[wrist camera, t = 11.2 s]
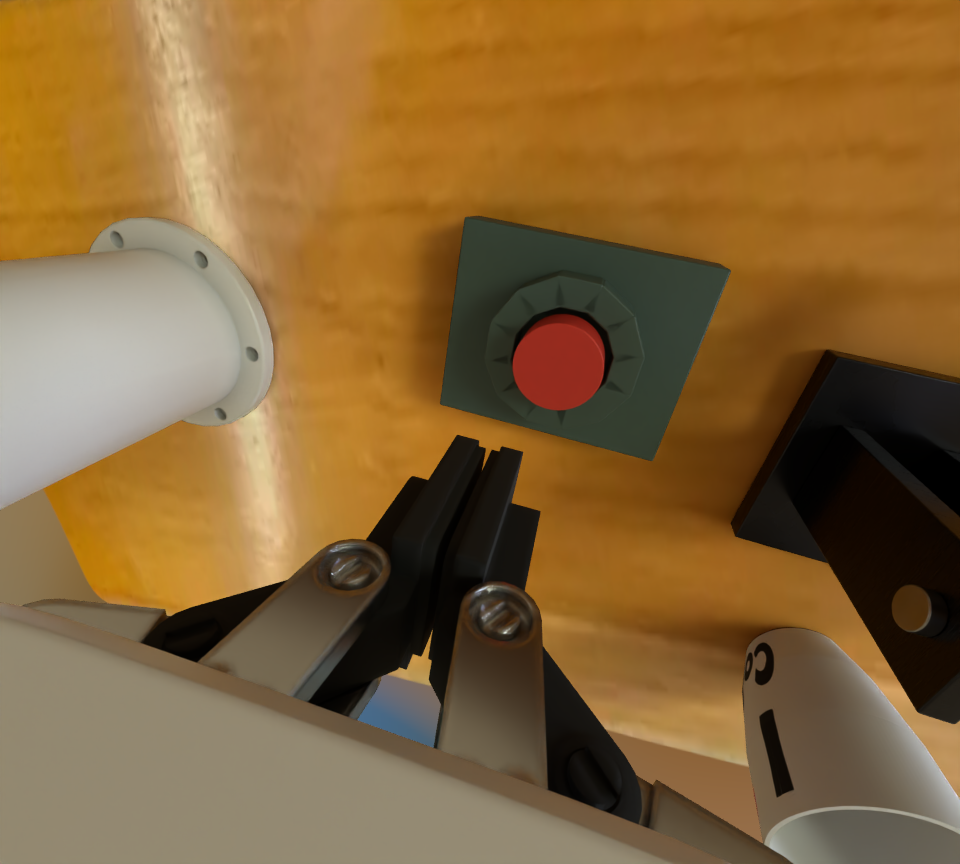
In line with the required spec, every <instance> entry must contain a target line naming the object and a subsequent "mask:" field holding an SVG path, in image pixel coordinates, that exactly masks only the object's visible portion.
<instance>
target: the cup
mask: <svg viewBox="0 0 960 864" xmlns="http://www.w3.org/2000/svg"><path fill="white" fill-rule="evenodd" d="M742 697H743V710H744V724H745V738H746V751H747V759H748V764H749V769H750V775H751V780H752V786H753V791H754V796H755V802H756V807H757V813H758V817H759V824H760V829H761V834H762V840H763V844H764V845H766V846H768V847H769V848H771V849H773V850H774V851H776V852H778V853H779V854H781V855H783V856H784V857H786V858H787V859H788V860H789V861H791V862H792V863H793V864H960V799H959V797H958V796H957V794H956V793H955V791H954V790H953V788H952V787H951V785H950V784H949V782H948V781H947V779H946V778H945V776H944V775H943V773H942V771H941V770H940V768H939V767H938V765H937V764H936V762H935V761H934V759H933V758H932V756H931V755H930V753H929V752H928V750H927V749H926V747H925V746H924V744H923V743H922V742H921V741H920V739H919V738H918V737H917V736H916V734H915V733H914V732H913V731H912V729H911V728H910V727H909V725H908V724H907V723H906V722H905V720H904V719H903V718H902V717H901V715H900V714H899V713H898V712H897V710H896V709H895V708H894V706H893V705H892V704H891V703H890V701H889V700H888V699H887V698H886V696H885V695H884V694H883V693H882V691H881V690H880V689H879V687H878V686H877V685H876V684H875V682H874V681H873V680H872V679H871V678H870V677H869V676H868V675H867V674H866V673H865V672H864V671H863V670H862V669H861V668H860V667H859V666H858V665H857V664H856V663H855V662H854V661H853V660H852V659H851V658H850V657H849V656H848V655H847V654H846V653H845V652H844V651H843V650H842V649H841V648H840V647H839V646H838V645H837V644H836V643H835V642H833V641H832V640H831V639H830V638H828V637H826V636H825V635H823V634H820V633H818V632H815V631H811V630H807V629H801V628H783V629H776V630H772V631H769V632H766V633H764V634H762V635H760V636H758V637H757V638H756V639H754V640H753V641H752V642H751V643H750V645H749V646H748V648H747V651H746V658H745V668H744V678H743V688H742Z"/></svg>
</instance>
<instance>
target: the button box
mask: <svg viewBox="0 0 960 864" xmlns="http://www.w3.org/2000/svg"><path fill="white" fill-rule="evenodd" d="M730 272H731V270H730V269H728V268H726V267H724V266H722V265H721V264H718V263H713V262H708V261H703V260H698V259H693V258H688V257H683V256H678V255H673V254H668V253H663V252H658V251H653V250H648V249H643V248H638V247H633V246H628V245H623V244H618V243H613V242H608V241H603V240H598V239H593V238H588V237H583V236H578V235H572V234H567V233H562V232H557V231H552V230H547V229H542V228H537V227H532V226H527V225H522V224H517V223H512V222H507V221H502V220H497V219H492V218H487V217H482V216H472V217H465V220H464V227H463V235H462V242H461V250H460V257H459V265H458V273H457V280H456V288H455V295H454V303H453V310H452V318H451V325H450V333H449V340H448V348H447V355H446V363H445V370H444V378H443V385H442V393H441V400H440V404H441V405H445V406H448V407H452V408H456V409H459V410H463V411H467V412H471V413H474V414H478V415H482V416H485V417H489V418H493V419H497V420H500V421H504V422H508V423H512V424H515V425H519V426H523V427H526V428H530V429H534V430H538V431H541V432H545V433H549V434H552V435H556V436H560V437H564V438H567V439H571V440H575V441H579V442H582V443H586V444H590V445H593V446H597V447H601V448H605V449H608V450H612V451H616V452H619V453H623V454H627V455H631V456H634V457H638V458H642V459H646V460H649V461H653V459H654V457H655V454H656V452H657V450H658V447H659V445H660V442H661V440H662V437H663V435H664V433H665V430H666V428H667V425H668V423H669V420H670V418H671V416H672V413H673V411H674V408H675V406H676V403H677V401H678V399H679V396H680V394H681V391H682V389H683V386H684V384H685V382H686V379H687V377H688V374H689V372H690V369H691V367H692V365H693V362H694V360H695V357H696V355H697V352H698V350H699V348H700V345H701V343H702V340H703V338H704V335H705V333H706V331H707V328H708V326H709V323H710V321H711V318H712V316H713V314H714V311H715V309H716V306H717V304H718V301H719V299H720V297H721V294H722V292H723V289H724V287H725V284H726V282H727V280H728V277H729V275H730ZM555 314H569V315H574V316H577V317H580V318H582V319H584V320H585V321H587V322H588V323H590V324H591V325H592V326H593V327H594V328H595V329H596V330H597V332H598V333H599V335H600V337H601V339H602V341H603V344H604V349H605V363H604V374H603V379H602V381H601V384H600V386H599V388H598V390H597V391H596V392H595V394H594V395H593V396H592V397H591V398H590V399H589V400H587V401H586V402H585V403H583V404H581V405H579V406H577V407H575V408H571V409H567V410H550V409H546V408H543V407H540V406H538V405H536V404H534V403H533V402H531V401H530V400H529V399H527V398H526V397H525V396H524V395H523V394H522V392H521V391H520V390H519V388H518V386H517V384H516V382H515V379H514V375H513V357H514V353H515V351H516V348H517V346H518V345H519V343H520V341H521V340H522V339H523V337H524V336H525V334H526V333H527V331H528V330H529V329H530V328H531V327H532V326H533V325H534V324H535V323H536V322H538V321H539V320H541V319H543V318H545V317H548V316H551V315H555Z"/></svg>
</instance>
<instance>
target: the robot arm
mask: <svg viewBox="0 0 960 864" xmlns="http://www.w3.org/2000/svg"><path fill="white" fill-rule="evenodd" d="M273 368H274V353H273V343H272V338H271V333H270V328H269V325H268V322H267V319H266V316H265V313H264V311H263V308H262V306H261V304H260V302H259V300H258V298H257V296H256V294H255V292H254V290H253V288H252V286H251V285H250V284H249V282H248V281H247V279H246V278H245V276H244V275H243V274H242V272H241V271H240V269H239V268H238V267H237V266H236V265H235V264H234V262H233V261H232V260H231V259H230V258H229V257H228V256H227V255H226V254H225V253H224V252H223V251H222V250H221V249H220V248H219V247H218V246H216V245H215V244H214V243H213V242H211V241H210V240H209V239H208V238H206V237H205V236H204V235H202V234H200V233H198V232H197V231H195V230H193V229H191V228H190V227H188V226H186V225H183V224H180V223H178V222H175V221H172V220H169V219H163V218H153V217H142V218H127V219H124V220H121V221H118V222H115V223H112V224H111V225H110V226H108V227H107V228H106V229H104V230H103V231H102V232H100V234H99V235H98V237H97V238H96V239H95V241H94V242H93V244H92V245H91V248H90V251H89V253H84V254H73V255H62V256H51V257H40V258H29V259H18V260H6V261H0V510H1V509H3V508H5V507H7V506H9V505H11V504H13V503H15V502H17V501H19V500H21V499H23V498H25V497H27V496H29V495H31V494H33V493H35V492H37V491H39V490H41V489H43V488H45V487H47V486H49V485H51V484H53V483H55V482H57V481H59V480H61V479H63V478H65V477H67V476H69V475H71V474H73V473H75V472H77V471H79V470H81V469H83V468H85V467H87V466H89V465H91V464H94V463H96V462H98V461H100V460H102V459H104V458H106V457H108V456H110V455H112V454H114V453H116V452H118V451H120V450H122V449H124V448H126V447H128V446H130V445H132V444H134V443H136V442H138V441H140V440H142V439H144V438H146V437H148V436H150V435H152V434H154V433H156V432H158V431H160V430H162V429H164V428H166V427H168V426H170V425H172V424H174V423H176V422H178V421H180V420H182V421H185V422H187V423H191V424H196V425H201V426H221V425H225V424H230V423H232V422H234V421H236V420H238V419H240V418H242V417H244V416H246V415H247V414H249V413H250V412H251V411H253V410H254V409H255V408H257V406H258V405H259V404H260V402H261V401H262V400H263V399H264V397H265V395H266V393H267V391H268V388H269V386H270V384H271V379H272V374H273ZM485 451H486V448H483V447H479V440H475V439H471V438H468V437H464V436H460V435H457V436H456V437H455V439H454V440H453V442H452V444H451V445H450V447H449V448H448V450H447V451H446V453H445V455H444V456H443V458H442V459H441V461H440V463H439V464H438V466H437V467H436V469H435V470H434V472H433V474H432V475H431V477H430V478H429V480H426V479H422V478H418V477H415V476H412V477H411V478H410V479H409V480H408V481H407V483H406V484H405V485H404V487H403V488H402V490H401V491H400V492H399V494H398V495H397V497H396V498H395V500H394V501H393V502H392V504H391V505H390V507H389V508H388V509H387V511H386V512H385V514H384V515H383V516H382V518H381V519H380V521H379V522H378V524H377V525H376V526H375V528H374V529H373V531H372V532H371V533H370V535H369V536H368V538H367V539H366V540H361V539H348V540H341V541H337V542H335V543H332V544H330V545H328V546H326V547H325V548H323V549H322V550H320V551H319V552H318V553H317V554H316V555H315V556H313V557H312V558H311V559H310V560H309V561H308V562H307V563H306V564H305V565H304V566H302V567H301V568H300V569H299V570H298V571H297V572H296V573H295V574H294V575H293V576H292V577H290V578H289V579H288V580H286V581H283V582H279V583H275V584H272V585H268V586H265V587H261V588H258V589H254V590H251V591H247V592H244V593H240V594H237V595H233V596H230V597H226V598H223V599H219V600H216V601H212V602H208V603H205V604H201V605H198V606H194V607H191V608H188V609H186V610H183V611H181V612H178V613H175V614H174V615H172V616H167V615H166V611H165V609H157V608H147V607H137V606H127V605H117V604H107V603H96V602H87V601H77V600H66V599H46V600H45V599H44V600H40V601H36V602H33V603H29V604H25V605H23V606H19V605H13V604H7V603H1V602H0V864H793V863H792V862H791V861H789V860H788V859H787V858H786V857H784V856H783V855H781V854H779V853H778V852H776V851H774V850H773V849H771V848H769V847H768V846H766V845H764V844H763V843H761V842H759V841H757V840H756V839H754V838H753V837H751V836H749V835H748V834H746V833H744V832H743V831H741V830H739V829H738V828H736V827H734V826H733V825H731V824H729V823H728V822H726V821H724V820H723V819H721V818H719V817H717V816H716V815H714V814H713V813H711V812H709V811H708V810H706V809H704V808H703V807H701V806H699V805H698V804H696V803H694V802H692V801H691V800H689V799H688V798H686V797H684V796H683V795H681V794H679V793H678V792H676V791H674V790H672V789H671V788H669V787H668V786H666V785H665V784H663V783H661V782H660V781H658V780H656V781H655V782H654V784H653V785H652V784H650V783H648V782H647V781H645V780H643V779H641V778H640V777H638V776H637V775H636V774H635V772H634V770H633V768H632V767H631V765H630V763H629V762H628V760H627V758H626V757H625V755H624V754H623V753H622V751H621V750H620V749H619V747H618V746H617V745H616V743H615V742H614V741H613V739H612V738H611V737H610V735H609V734H608V732H607V731H606V730H605V728H604V727H603V726H602V724H601V723H600V722H599V720H598V719H597V718H596V716H595V715H594V714H593V712H592V711H591V710H590V708H589V707H588V706H587V704H586V703H585V702H584V700H583V699H582V698H581V696H580V695H579V694H578V692H577V691H576V690H575V688H574V687H573V686H572V684H571V683H570V682H569V680H568V679H567V678H566V676H565V675H564V674H563V672H562V671H561V670H560V668H559V667H558V666H557V664H556V663H555V662H554V660H553V659H552V658H551V656H550V655H549V654H548V652H547V651H546V650H545V648H544V647H543V643H542V620H541V615H540V610H539V608H538V606H537V605H536V603H535V601H534V600H533V599H532V598H531V597H530V596H529V595H528V594H527V593H526V592H525V586H526V581H527V576H528V571H529V566H530V561H531V556H532V552H533V547H534V542H535V537H536V532H537V527H538V522H539V517H540V511H538V510H534V509H531V508H527V507H523V506H520V505H516V504H513V503H511V502H512V498H513V494H514V489H515V485H516V481H517V477H518V473H519V468H520V464H521V460H522V456H523V452H522V451H518V450H514V449H510V448H506V447H501V449H500V451H495V450H492V451H491V453H490V455H489V457H488V459H487V461H486V464H485V466H484V468H483V470H482V467H483V462H484V457H485ZM432 630H433V632H432ZM431 632H432V638H431V644H430V651H429V657H428V659H430V660H432V663H431V669H430V675H429V681H430V683H431V685H432V687H433V689H434V691H435V693H436V695H437V697H438V699H439V701H440V703H441V707H440V713H439V719H438V724H437V730H436V736H435V743H434V748H432V747H429V746H427V745H424V744H421V743H418V742H416V741H413V740H410V739H407V738H405V737H402V736H398V735H396V734H394V733H391V732H388V731H385V730H382V729H380V728H377V727H374V726H371V725H369V724H366V723H363V722H360V721H358V720H357V719H358V718H359V716H360V714H361V713H362V712H363V710H364V709H365V707H366V705H367V704H368V702H369V701H370V699H371V698H372V696H373V695H374V693H375V692H376V690H377V688H378V686H379V684H380V681H381V676H383V675H386V674H388V673H390V672H393V671H395V670H397V669H398V668H399V667H400V668H403V669H407V667H408V664H409V662H410V660H411V657H412V655H413V654H415V655H418V656H422V654H423V652H424V649H425V647H426V644H427V642H428V639H429V637H430V635H431Z"/></svg>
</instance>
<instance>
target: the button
mask: <svg viewBox="0 0 960 864" xmlns="http://www.w3.org/2000/svg"><path fill="white" fill-rule="evenodd" d="M604 363H605V349H604V344H603V341H602V339H601V337H600V335H599V333H598V332H597V330H596V329H595V328H594V327H593V326H592V325H591V324H590V323H588V322H587V321H585V320H584V319H582V318H580V317H577V316H574V315H569V314H555V315H551V316H548V317H545V318H543V319H541V320H539V321H538V322H536V323H535V324H534V325H533V326H532V327H531V328H530V329H529V330H528V331H527V333H526V334H525V336H524V337H523V339H522V340H521V341H520V343H519V345H518V346H517V348H516V351H515V353H514V357H513V375H514V379H515V382H516V384H517V386H518V388H519V390H520V391H521V392H522V394H523V395H524V396H525V397H526V398H527V399H529V400H530V401H531V402H533V403H534V404H536V405H538V406H540V407H543V408H546V409H550V410H567V409H571V408H575V407H577V406H579V405H581V404H583V403H585V402H586V401H587V400H589V399H590V398H591V397H592V396H593V395H594V394H595V392H596V391H597V390H598V388H599V386H600V384H601V381H602V379H603V374H604Z"/></svg>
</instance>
